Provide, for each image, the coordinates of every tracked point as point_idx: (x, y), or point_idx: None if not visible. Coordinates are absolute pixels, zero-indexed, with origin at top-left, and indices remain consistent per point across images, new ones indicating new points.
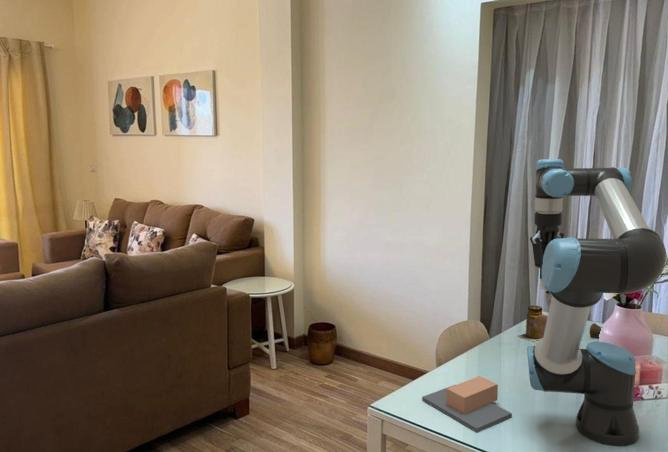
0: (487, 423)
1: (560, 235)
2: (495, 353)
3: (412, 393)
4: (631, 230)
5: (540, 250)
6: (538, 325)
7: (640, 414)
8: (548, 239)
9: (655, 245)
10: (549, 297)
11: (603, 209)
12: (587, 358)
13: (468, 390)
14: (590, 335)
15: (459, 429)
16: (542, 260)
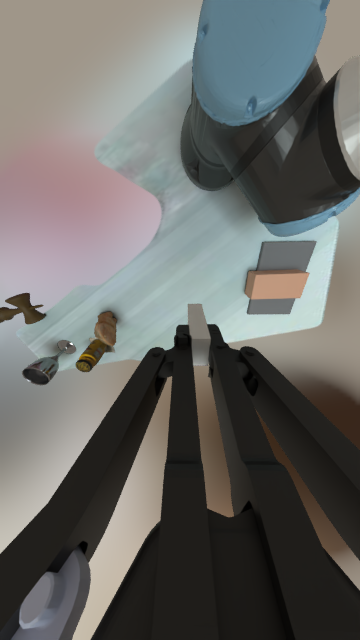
0: (300, 242)
1: (6, 630)
2: (160, 339)
3: (281, 325)
4: None
5: (339, 441)
6: (115, 336)
7: (145, 145)
8: (348, 619)
9: None
10: (50, 373)
11: None
12: (315, 71)
13: (290, 282)
14: (44, 316)
15: (317, 255)
16: (270, 373)
